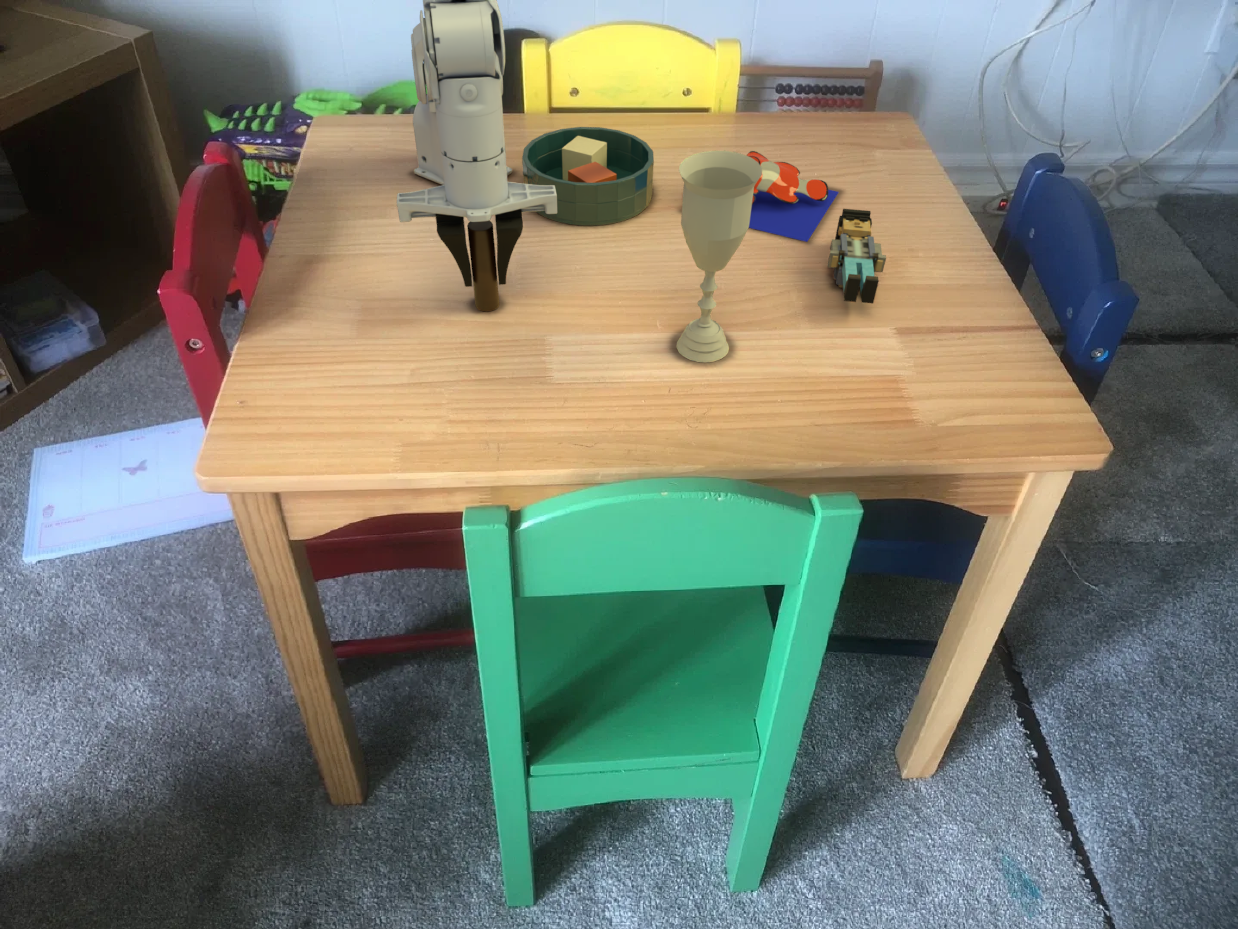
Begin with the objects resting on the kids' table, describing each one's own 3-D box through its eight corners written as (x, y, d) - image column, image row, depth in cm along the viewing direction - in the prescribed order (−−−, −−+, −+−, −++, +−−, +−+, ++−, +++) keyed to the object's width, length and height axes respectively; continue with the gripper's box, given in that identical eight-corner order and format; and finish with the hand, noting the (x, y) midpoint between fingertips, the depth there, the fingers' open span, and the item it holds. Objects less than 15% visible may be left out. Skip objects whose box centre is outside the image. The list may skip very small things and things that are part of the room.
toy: (834, 277, 89) (830, 203, 100) (826, 316, 92) (823, 240, 103) (893, 282, 89) (883, 208, 99) (883, 321, 92) (874, 245, 102)
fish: (708, 161, 105) (733, 133, 110) (704, 200, 108) (729, 170, 114) (817, 186, 101) (838, 155, 107) (810, 225, 104) (830, 193, 110)
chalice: (716, 378, 85) (737, 198, 72) (652, 353, 87) (662, 175, 75) (751, 339, 89) (776, 163, 77) (690, 316, 92) (705, 143, 79)
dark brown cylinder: (470, 306, 92) (461, 225, 86) (486, 295, 94) (479, 215, 87) (488, 314, 91) (480, 233, 85) (504, 303, 93) (498, 223, 86)
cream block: (562, 179, 111) (561, 148, 109) (578, 166, 114) (577, 135, 111) (591, 187, 110) (591, 155, 107) (606, 173, 113) (607, 142, 110)
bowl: (498, 198, 109) (495, 158, 105) (577, 154, 118) (577, 116, 114) (600, 239, 102) (600, 198, 99) (676, 189, 111) (678, 149, 108)
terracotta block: (568, 202, 107) (567, 170, 104) (595, 193, 109) (595, 161, 106) (588, 216, 105) (588, 183, 102) (616, 206, 107) (616, 173, 104)
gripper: (387, 172, 77) (410, 307, 87) (559, 164, 79) (562, 297, 88) (390, 136, 82) (411, 268, 92) (551, 129, 84) (555, 259, 93)
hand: (485, 280), depth 90 cm, fingers open, 3 cm apart
